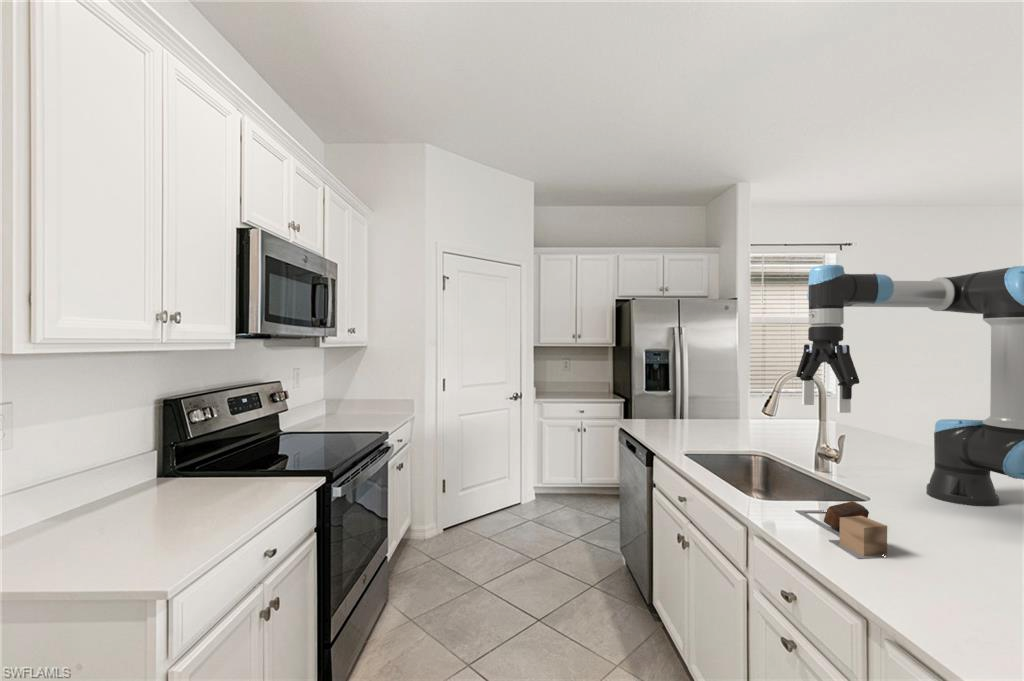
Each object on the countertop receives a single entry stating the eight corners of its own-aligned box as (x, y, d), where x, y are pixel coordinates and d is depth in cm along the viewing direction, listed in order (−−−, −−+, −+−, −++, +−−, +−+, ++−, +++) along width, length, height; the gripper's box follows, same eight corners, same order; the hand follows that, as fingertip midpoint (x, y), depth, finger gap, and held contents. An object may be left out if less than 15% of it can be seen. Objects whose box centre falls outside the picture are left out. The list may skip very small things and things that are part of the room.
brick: (838, 532, 114) (843, 515, 113) (822, 522, 117) (827, 506, 116) (865, 524, 118) (871, 508, 117) (849, 514, 121) (855, 499, 120)
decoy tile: (867, 540, 109) (867, 539, 109) (899, 558, 100) (899, 557, 100) (828, 540, 109) (828, 540, 109) (857, 558, 100) (857, 557, 100)
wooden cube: (861, 541, 108) (861, 515, 108) (887, 553, 103) (887, 525, 103) (839, 543, 107) (839, 517, 107) (863, 555, 101) (864, 527, 101)
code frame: (842, 511, 129) (842, 510, 129) (893, 537, 112) (893, 536, 112) (795, 511, 128) (795, 510, 128) (839, 537, 111) (839, 536, 111)
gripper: (782, 327, 134) (782, 401, 134) (846, 324, 109) (845, 416, 109) (808, 327, 134) (808, 402, 134) (878, 324, 109) (877, 416, 109)
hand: (825, 408), depth 122 cm, fingers open, 13 cm apart
